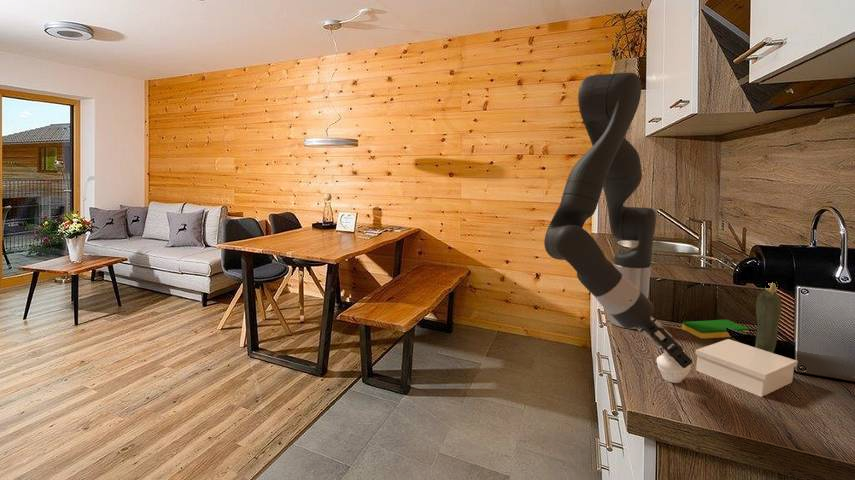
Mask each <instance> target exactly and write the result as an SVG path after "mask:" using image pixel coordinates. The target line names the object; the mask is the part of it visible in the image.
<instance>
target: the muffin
mask: <svg viewBox="0 0 855 480" xmlns="http://www.w3.org/2000/svg"><path fill="white" fill-rule="evenodd" d="M671 347H672V346H669V347H668V349H669V348H671ZM656 364H657V368H658V371H659V373H660V374H661V376H662V379H663V380H665V381H666V382H669V383H673V384H680V383H681V382H683V380H685V378H686V377H687V375H688V374H689V372H690V371H691V369H692V363H691V364H690V365H689V366H687V367H686V368H683V367H682V366H680V365H679V364H678V363H677V362H676V361H675V360H674V358H673V357H670V356H669V355H668V354H667V352H666V351H665V350H663V353H661V354H660V355H659V356H657V357H656Z"/></svg>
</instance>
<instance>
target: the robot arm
mask: <svg viewBox="0 0 855 480" xmlns="http://www.w3.org/2000/svg"><path fill="white" fill-rule="evenodd" d="M577 93H578V94H577V101H578V103H577V104H578V110H579V112H580V116H581V119H582V121H583V122H582V123H583V125H584V127H585V130H586V132H587V135H588V137H589V139H590V143H591V146H592V147H590V148H589V149H588V150H587V151H586V152H585V153H584V154H583V155H582V156H581V157H580V158H579V159H578V160H577V162H576V163H575V164H574V166H573V167H572V169H571V170H570V173H569V175H568V176H567V180H566V184H565V186H564V189H563V191H562V192H563V193H562V196H561V201H560V203H559V205H558V207H557V209H556V210H555V213H554V215H553V216H552V219H551V221H550V222H549V225H548V227H547V229H546V232H545V234H544V235H545V236H544V241H543V242H544V243H543V244H544V248H545V251H546V253H547V255H549V256H550V257H551V258H552V259H555V260H559V261H566V262H567V263H568V264H569V265H570V266H571V267H572V268H573V269H574V270H575V271H576V277H577V279H578V281H579V282H580V283H581V284H582V285H583V286H584V288H585V289H587V290H588V291H589V292H590V293H591V295H592V296H594V298H595V299H596V300H597V302H598V303H599V304H600V306H602V307H603V309H604V310H605V311H607V312H606V315H607V316H606V321H607V322H610V323H611V324H612V325H614V326H617V327H620V328H622V329H623V328H624V329H628V330H629V329H631V330H637V331H638V332H640V333H641V334H642V335H643V336H644V337H645V338H648V339H649V340H650V341H651V342H652V343H653V344H654V345H655V346H656V347H657V348H660V349H661V350H663V351H666V352H667V354H668V355H669V356H670V357H673V358H674V360H675V361H676V362H677V363H678V364H679V365H680V366H682V367H683V368H686V367H687V366H689V365H690V364H691V365H692V363H693V359H691V358H690V357H689V356H688V355H687V354H686V352H684V349H683V347H682V346H681V345H680V344H679V343H678V342H676V340H675V339H674V338H673V336H672V334H671V333H670V332H669V331H668V330H666V329H665V328H664V326H662V323H661V322H659V320H658V319H656V318H655V317H653V316H652V314H653V313H654V304H653V302H652V301H651V300H650V299H649V290H650V282H651V281H650V280H651V279H650V278H651V266H652V257H653V256H652V255H653V245H654V244H653V243H654V237H655V236H654V235H655V231H656V225H657V222H656V221H657V215H656V212H655V210H654V208H651V207H638V206H636V207H635V206H625V205H624V204H625V202H626V201H627V200H628V199H629V198H630V197H631V196H632V194H634V192H635V191H636V190H637V188H638V187H639V186H640V185H641V181H642V179H643V172H642V171H643V170H642V165H641V159H640V158H641V157H640V155H639V152H638V150H637V149H636V148H635V147H634V146H633V144H632V143H631V142H629V141H628V139H627V138H626V135H627V133H628V130H629V129H630V126H631V124H632V121H633V120H634V118H635V116H636V114H637V110H638V108H639V104H640V101H641V95H642V83H641V79H640V77H639V75H637V74H636V73H634V72H617V73H605V74H602V73H601V74H594V75H593V74H592V75H590V76H587V77H585V78H584V79H583V80H582V82H581V83H580V85H579V88H578V92H577ZM602 191H603V192H604V196H605V201H606V206H607V214H608V222H609V223H608V224H609V228H610V233H611V234H612V236H613V237H614V238H615V239H617V240H621V241H622V240H623V241H633V242H634V241H635V242H638V244H637V246H636V247H633V248H631V249H628V250H624V251H619V252H616V253H615V254H614V257H613V263H612V262H611V261H610V260H609V259H608V258H606V256H605V253H604V252H603V250H602V249H601V247H600V245H599V244H598V243H597V241H596V240H595V238H594V237H593V236H592V235H591V234H590V233H589V232H588V231H587V230H585V229H584V228H583V227H584V225H585V223H586V221H587V220H588V219H589V218H591V217H593V215H594V214H595V212H596V210H597V207H598V204H599V201H600V198H601V194H602ZM669 347H671V348H669ZM668 348H669V349H668Z"/></svg>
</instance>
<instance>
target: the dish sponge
mask: <svg viewBox="0 0 855 480" xmlns="http://www.w3.org/2000/svg"><path fill="white" fill-rule="evenodd" d="M726 327H727V328H730V329H734V330H738V331H743V332H748V333H749V330H750V328H748V327H746V326H743V325H741V324H739V323H736V322H734V321H731V320H729V319H713V320H712V319H710V320H695V321H693V320H692V321H682V325H681V330H683V331H686V332H688V333H690V334H691V335H693V336H695V337H697V338H700V339H715V338H716V339H717V338H730V337H731V336H730V335H729V333H728V332H727V329H726ZM731 338H732V337H731Z"/></svg>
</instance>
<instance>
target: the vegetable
mask: <svg viewBox="0 0 855 480" xmlns="http://www.w3.org/2000/svg"><path fill="white" fill-rule="evenodd" d="M768 285H769V286H770V288H766V287H765V289H764V290H765V291H762V292H761V293H760V294H759V295H758V296H757V298H756V303H755V317H756V321H757V322H756V323H757V325H756V326H757V328H756V330H757V331H756V334H755V335H756V336H755V344H754V345H755V346H754V347H755V348H758V349H761V350H765V351H768V352H771V353H774V352H775V349H776V346H777V340H778V332H779V324H780V320H781V315H782V307H783V306H782V305H783V304H782V303H783V302H782V299H781V296H780V295H779V294H778V293H777V290H778V287H776V284H775V283H773V282H772V283H768Z"/></svg>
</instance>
